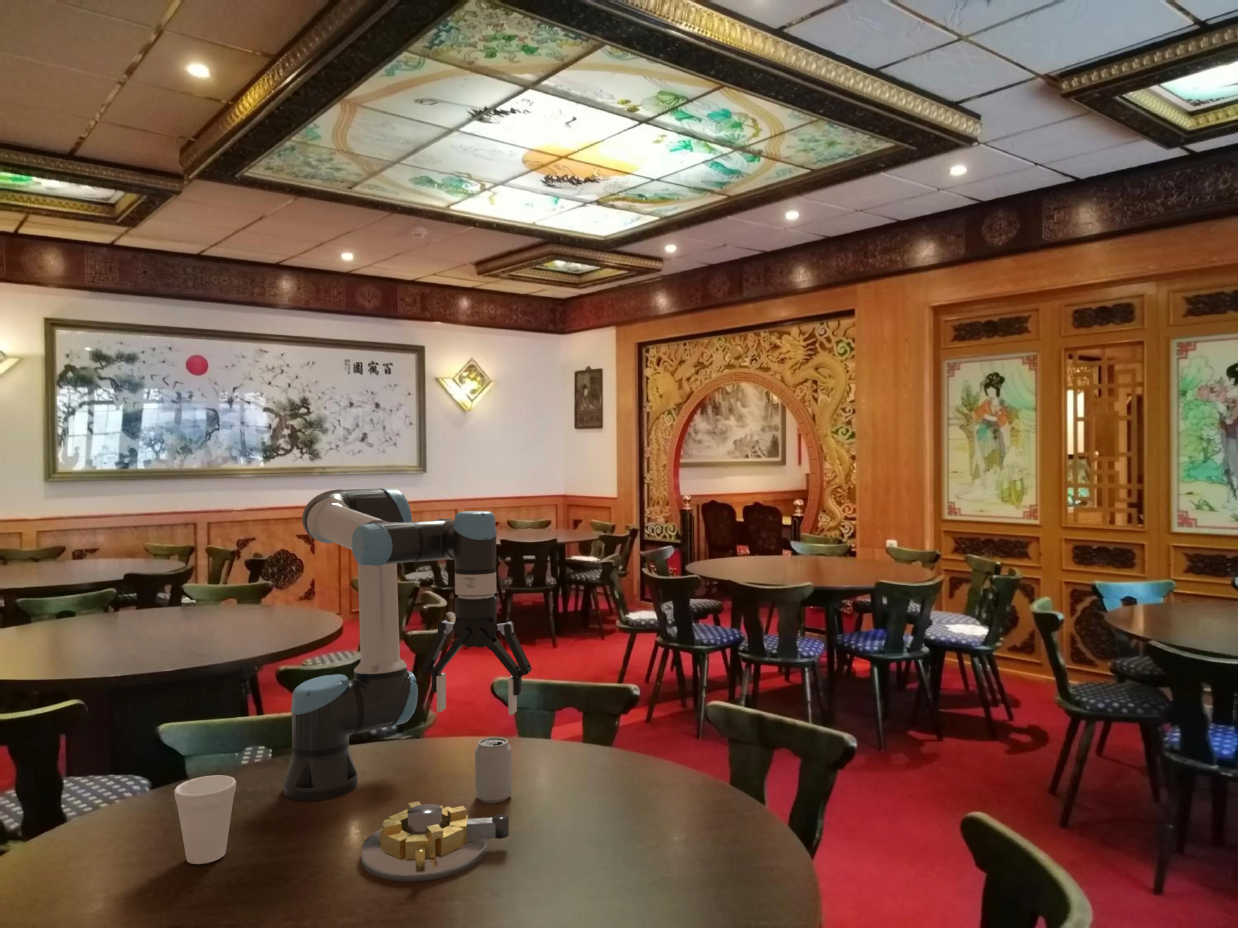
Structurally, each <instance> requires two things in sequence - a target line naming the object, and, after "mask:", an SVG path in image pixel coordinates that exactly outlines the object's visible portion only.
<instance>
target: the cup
mask: <svg viewBox="0 0 1238 928" xmlns="http://www.w3.org/2000/svg"><path fill="white" fill-rule="evenodd" d="M236 789H237V781H236V779H235V778H234V777H232V776H229V775H223V774H222V775H220V774H217V775H216V774H215V775H205V776H200V777H196V778H192V779H190V780H186V781H183V782H182V783H180V784H178V785H177V786H176V788H175V789H174V790H173V792H174V799H175V803H176V806H177V811H178V812H177V813H178V818H179V824H180V830H181V834H182V835H181V836H182V840H183V847H184V852H185V857H186V858H185V859H186V861H187V863H189V864H193V865H194V864H195V865H202V864H209V863H212V862H215V861H217V860H219V859H222V857H224V856H225V854H226V851H227V847H228V846H227V845H228V838H229V830H230V824H231V818H232V812H233V811H232V810H233V803H234V798H235V793H236Z"/></svg>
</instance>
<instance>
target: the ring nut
mask: <svg viewBox="0 0 1238 928" xmlns="http://www.w3.org/2000/svg"><path fill="white" fill-rule="evenodd" d="M418 805H422V803H421V802H420V801H419V800H418V801H413V802H408V803H407V809H405V810H403V811H400V812H397V813H395V814H392V815H390V816H387V819H384V820H383V822H382V823H381V828H380V829H381V830H380V829H379V830H380V848H382V851H384V852H386V853H388V854H391V855H393V856H395V857H397V858H402V857H404V856H406V859H415V851H416V850H417V849H419V848H423V849H425V858H435V856H436V854H438V855H440V856H443V855H445V854H447V853H449V852H451V851H453V850H456V849H458V848H460V847H462V846H464V843H467V840H473V839H487V840H489V839H497V840H498V839H499V840H500V839H505V838H508V837H509V836H510V816H509V815H508V814H504V813H500V814H495V815H493V816H492V817H480V818H479V817H478V818H477V817H476V818H469V814H468V811H467V808H466V807H465V805H460V806H457V807H451V806H445V807H443V806H444V805H439V806H440V807H441V808H442V828H441V827H440V826H439V825H438V824H436V825H431V826H427V833H422V834H410V833H408V811H409V809H411V808H412V807H415V806H418Z"/></svg>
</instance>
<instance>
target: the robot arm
mask: <svg viewBox="0 0 1238 928" xmlns="http://www.w3.org/2000/svg"><path fill="white" fill-rule="evenodd" d="M301 517H302V518H301V522H302V525H303V530H305V532H306V534H307V535H308V536H309V537H311V538H312V539H313V540H315V541H317V542H321V543H324V544H334V543H335V544H337V545H339V546H341V547H344V548H347V549H348V550H351V551H352V555H353V557H354V559H355V561H356V563H357V580H358V585H357V586H358V611H359V612H358V615H359V618H358V619H359V644H360V645H359V648H360V649H359V651H360V662H359V664H357V666H355V668H354V669H353V679H350V680H349V677H348V676H346V674H341V673H339V674H338V673H336V674H335V673H334V674H327V675H320V676H318V677H317V676H316V677H314V678H311V679H308V680H305V681H303V682H301V683H300V684H299V685H297V686H296V687H294V689H293V692H292V699H291V708H290V713H291V739H292V742H291V744H292V745H291V747H292V755H291V759H290V761H289V765H288V769H287V771H286V775H285V778H284V781H283V794H284V796H286V797H287V798H288V799H291V800H296V801H303V802H304V801H305V802H308V801H309V802H311V801H322V800H328V799H334V798H337V797H340V796H342V795H346V794H348V793H349V792H351V791H353V790H354V789H356V788H357V786H358V783H359V781H358V771H357V768H356V765H355V762H354V760H353V756H352V753H351V751H350V743H349V742H350V740H349V739H350V735H355V734H360V733H365V732H369V731H374V730H375V731H376V730H379V729H384V728H387V729H389V728H393V727H395V726H398V725H402V724H405V723H407V722H408V721H409V720H410V719H411V718H412V716H413V715H414V713H415V712H416V711H415V710H416V709H417V704H418V698H419V697H418V696H419V691H418V684H417V678H416V676H415V674H414V673H413V672H412V671H409V670H408V665H407V663H406V662H405V661H403V660H402V659H401V657H400V655H401V653H400V650H401V649H400V629H399V628H400V625H399V623H400V622H399V598H398V597H399V596H398V594H399V593H398V592H399V591H398V567H397V566H398V564H403V563H415V562H416V563H417V562H430V561H431V562H432V561H441V560H454V593H455V595H457V596H456V598H454V610H455V611H454V617H455V620H454V622H450V621H449V620H447V619H444V620H443V621H441V622H439V623H438V625H437V633H436V636H435V638H434V640H433V642H432V645H431V646H430V649H429V651H428V653H427V655H426V658H425V660H424V662H423V663H422V666H421V668H420V669H421V671H422V672H423V673H428V674H430V675H431V691H432V693H436V713H442V712H443V711H444V710H446V709H447V673H446V672H443V670H444V669H445V668H446V666H447V665H448V664H449V662H451V660H452V659H453V658H454V656H455V655H456V654H457V653H458V652H459V650H460V649H461V648H462V647H463V646H465V647H466V648H472V647H476V648H478V649H479V648H484V647H487V649H488V650H490V651H491V652H492V653H493V654H494V656H496V658H497V660H499V662H500V663H501V664H502V665H503V666H504V668H505V669H506V670H507V671H508V673H509V674H510V675H511V676H510V677H509V678H508V680H507V682H508V683H507V684H508V685H507V686H508V687H507V689H508V694H507V695H508V698H507V699H508V703H507V704H508V715H509V716H514V714H515V713H516V712H517V711H518V708H517V707H518V706H517V705H518V703H517V700H518V699H517V698H518V697H517V696H520V695H521V693H522V691H523V690H522V689H523V686H522V685H523V684H522V682H523V680H522V678H523V676H527V675H529V673H530V672H531V671H532V670H533V668H532V665H531V664H530V661H529V660H528V656H527V655H526V653H525V651H524V649H523V647H522V645H521V643H520V641H519V639H518V637H517V635H516V632H515V631H516V630H515V624H514V623H515V622H513V621H511V620H510V621H508V622H505V623H504V622H503V623H499V622H498V620H497V619H498V617H497V607H498V605H497V597H496V595H495V594H496V593H497V533H498V532H497V528H496V516H495V514H494V513H493V512H492V511H488V510H487V511H486V510H484V511H483V510H482V511H481V510H470V511H469V510H468V511H466V510H465V511H459V512H457V513H455V516H454V519H452V518H439V519H435V520H425V521H424V520H423V521H413V514H412V511H411V506H410V504H409V502H408V500H407V498H406V496H405V494H404V493H403V492H402V491H400V490H399V489H395V488H385V487H378V488H352V489H351V488H350V489H349V488H347V489H344V488H342V489H341V488H340V489H339V488H338V489H333V490H332V489H331V490H326V491H324V492H321V493H320V494H317V495H316V496H314V497H313V498H312V499H310V500H309V501H308V503H306V505H305V507H304V509H303V512H302V516H301ZM452 630H453V631H454V633H455V635H456V636H457V638H456V639H455V641H454V642H453V643H452V644H451V646H450V647H449V648H448V650H447V651H446V652H445V653H444V654H443V656H442V657H441V658H440V659H439V660H438V662H436V660H437V658H438V656H439V654H440V652H441V650H442V647H443V645H444V643H445V641H446V640H447V637H448V634H450V633H451V632H452ZM498 632H500V633H501V635H503V636H504V637H505V640H506V643H507V645H508V647H509V649H510V651H511V653H512V655H513V657H514V659H515V660H514V659H513V658H512V656H511V655H510V654H509V652H508V651H507V650H506V649H505V647H504V646H503V645H502V644H501V642H500V640H499V639H498V637H497V636H496V635H497V633H498ZM435 662H436V664H435Z"/></svg>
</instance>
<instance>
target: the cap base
mask: <svg viewBox="0 0 1238 928" xmlns="http://www.w3.org/2000/svg"><path fill="white" fill-rule="evenodd" d="M440 806H441V805H438V804H434V803H424V804H421V805H418V806H415V807H412V808H411V809H409V811H408V833H410V834H422V833H427V826H431V825H436V824H438V825H439V826H440V827H441V828H442V808H441V807H440ZM380 830H381V828H380V829H378V830H376V831H374V832H373V833H372V834H370V835H368V837H367V838H366V839H364V841H363V843H362V845H361V864H362V865H361V866H362V867H363V868H364V870H365V871H366V872H367V873H369V874H370V875H372V876H374V877H376V878H379V879H382V880H387V881H393V882H403V883H413V882H414V883H416V882H417V883H420V882H427V881H433V880H434V881H436V880H440V879H443V878H447V877H452V876H453V875H457V874H459V873H462V872H464V871H466V870H468V869H471V868H472V867H474V866H475V865H477V864H478V863H479V862H480V861H481V860H482V859H483V858H484V856H485V855H486V853H487V850H488V839H473V840H467V843H464V846H462V847H460V848H458V849H456V850H453V851H451V852H449V853H447V854H445V855H443V856H440V855H438V854H436V856H435V858H425V849H423V848H419V849H417V850H416V851H415V859H406V856H404V857H402V858H397V857H395V856H393V855H391V854H388V853H386V852H384V851H382V848H380Z"/></svg>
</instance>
